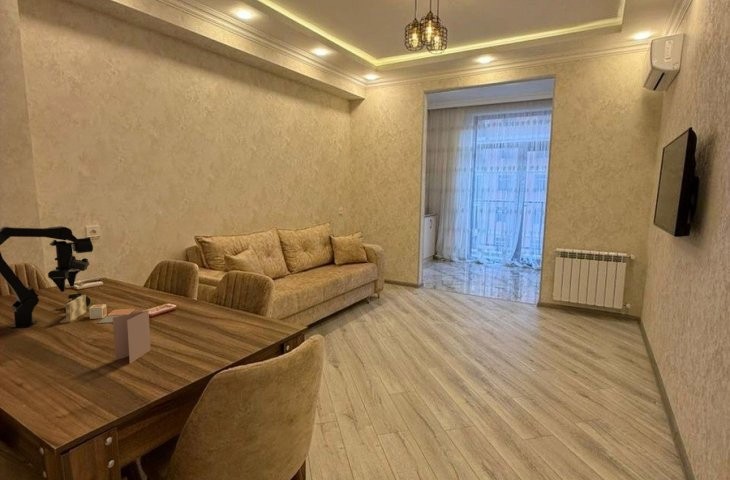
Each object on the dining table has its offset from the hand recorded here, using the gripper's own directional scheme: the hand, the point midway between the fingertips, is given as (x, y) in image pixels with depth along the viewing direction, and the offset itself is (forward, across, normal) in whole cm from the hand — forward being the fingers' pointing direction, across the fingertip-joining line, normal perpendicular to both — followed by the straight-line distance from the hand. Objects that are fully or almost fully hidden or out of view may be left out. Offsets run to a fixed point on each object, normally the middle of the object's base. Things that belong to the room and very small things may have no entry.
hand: (67, 289), depth 178 cm
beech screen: (+13, -1, -2) cm, 13 cm away
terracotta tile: (+13, +1, -20) cm, 24 cm away
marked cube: (+13, -3, -12) cm, 18 cm away
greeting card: (+13, -55, -41) cm, 70 cm away
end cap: (+13, +14, +1) cm, 19 cm away
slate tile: (+13, -9, -20) cm, 25 cm away
